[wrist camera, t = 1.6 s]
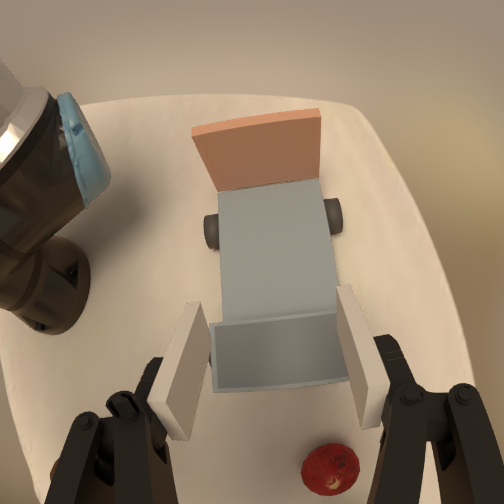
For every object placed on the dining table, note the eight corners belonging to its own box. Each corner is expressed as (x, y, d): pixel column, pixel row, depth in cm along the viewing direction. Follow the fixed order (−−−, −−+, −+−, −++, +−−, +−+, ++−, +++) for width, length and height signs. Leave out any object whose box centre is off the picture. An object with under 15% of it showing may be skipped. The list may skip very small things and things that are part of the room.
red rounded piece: (321, 428, 28) (327, 446, 21) (363, 449, 26) (380, 471, 19) (291, 467, 27) (288, 495, 20) (333, 488, 25) (341, 518, 18)
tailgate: (318, 178, 34) (321, 116, 25) (217, 192, 36) (191, 136, 26) (316, 166, 35) (317, 104, 26) (217, 180, 36) (192, 124, 27)
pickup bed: (360, 372, 30) (383, 374, 21) (220, 386, 32) (190, 393, 23) (331, 194, 38) (337, 146, 29) (212, 211, 40) (188, 168, 31)
